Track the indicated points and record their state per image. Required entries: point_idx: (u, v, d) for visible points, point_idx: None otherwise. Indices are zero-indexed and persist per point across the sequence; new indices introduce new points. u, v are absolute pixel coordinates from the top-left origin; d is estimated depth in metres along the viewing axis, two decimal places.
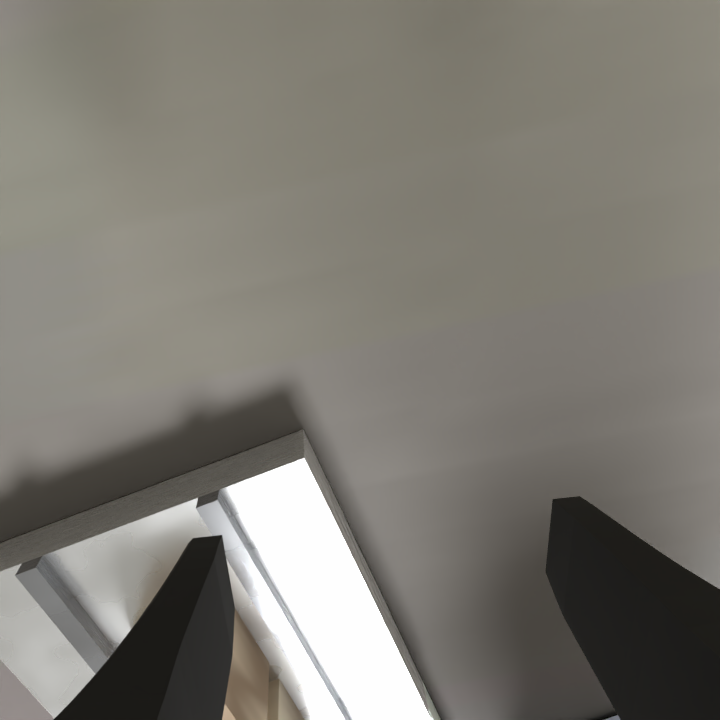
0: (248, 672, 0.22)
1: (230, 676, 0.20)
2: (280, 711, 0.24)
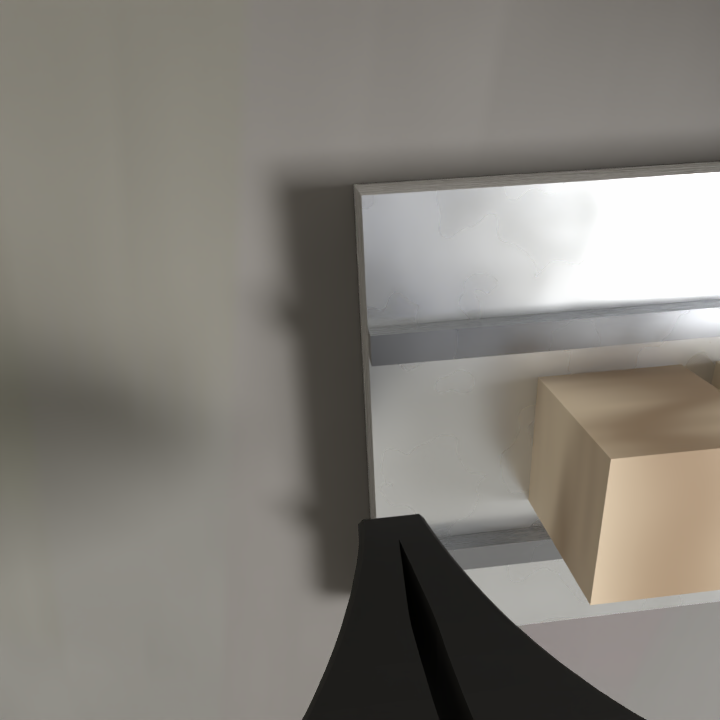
0: (653, 399, 0.14)
1: (625, 427, 0.13)
2: None
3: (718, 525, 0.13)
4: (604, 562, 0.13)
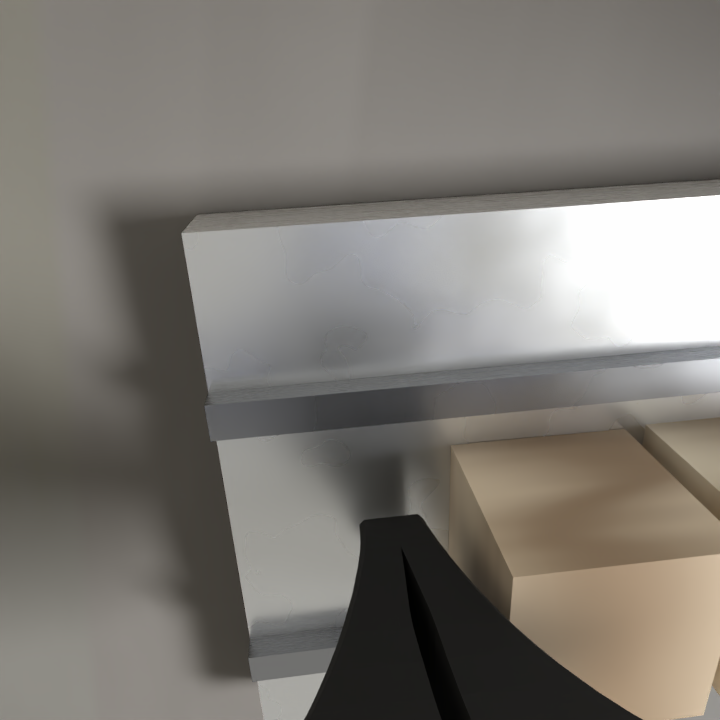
0: (583, 481, 0.12)
1: (540, 525, 0.11)
2: (692, 455, 0.12)
3: (657, 648, 0.10)
4: None
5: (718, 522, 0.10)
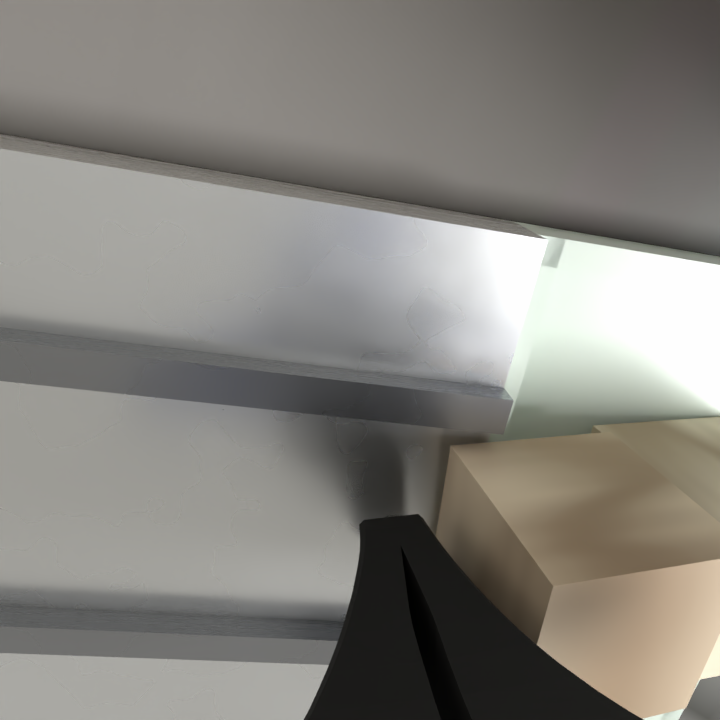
0: (588, 484, 0.12)
1: (563, 530, 0.10)
2: None
3: (662, 649, 0.11)
4: None
5: None
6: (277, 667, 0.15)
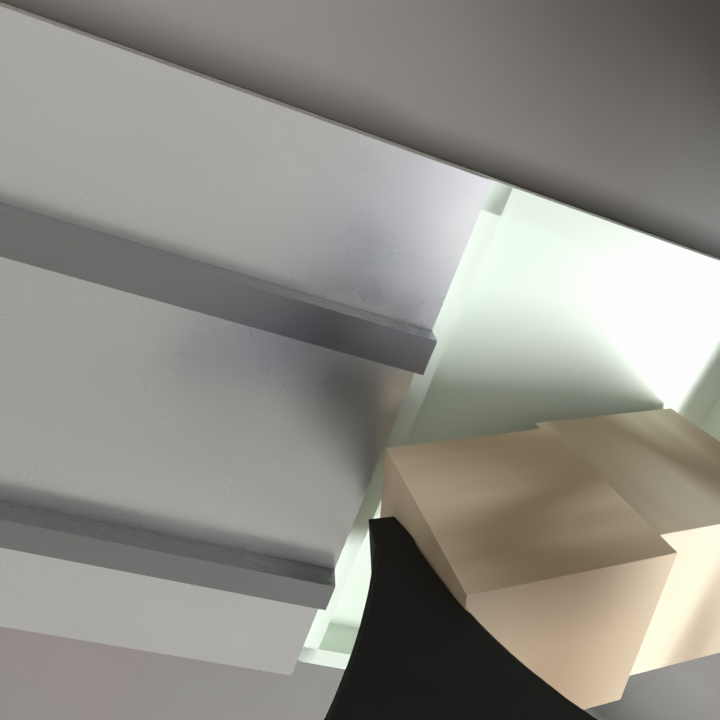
0: (520, 485, 0.12)
1: (486, 535, 0.10)
2: (699, 518, 0.11)
3: (589, 647, 0.11)
4: None
5: (647, 524, 0.11)
6: (171, 588, 0.15)
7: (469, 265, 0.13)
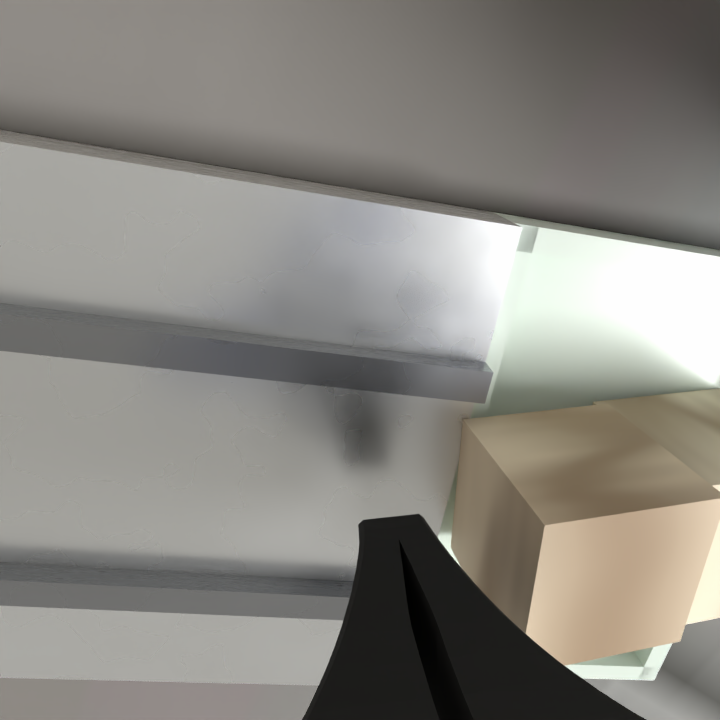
0: (583, 446, 0.14)
1: (557, 483, 0.12)
2: None
3: (650, 584, 0.12)
4: (534, 630, 0.12)
5: (698, 476, 0.12)
6: (281, 624, 0.17)
7: (509, 299, 0.14)
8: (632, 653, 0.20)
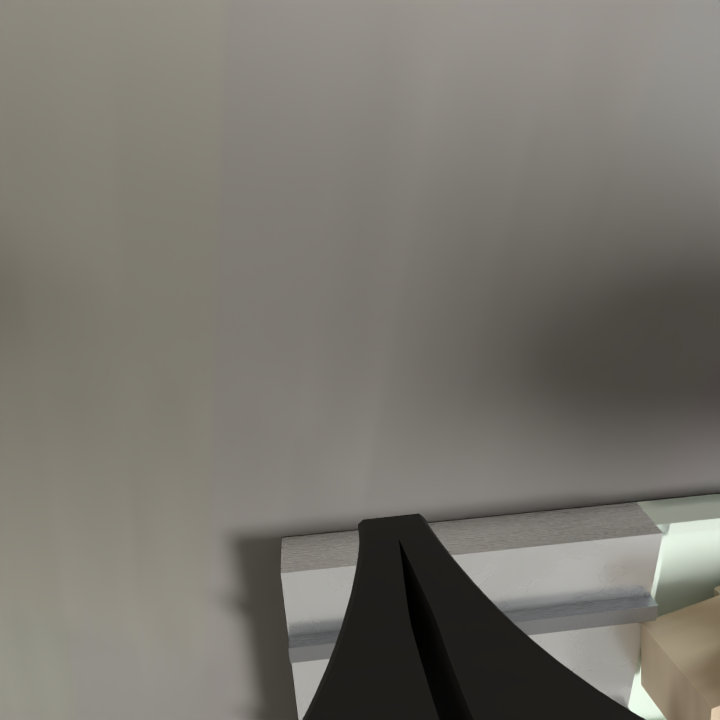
0: (718, 638, 0.24)
1: (710, 673, 0.23)
2: None
3: None
4: None
5: None
6: None
7: None
8: None
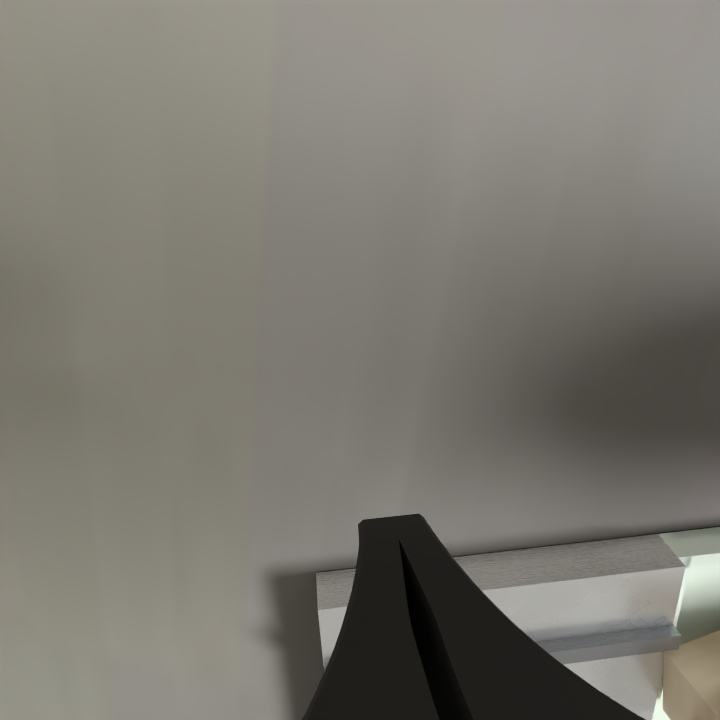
0: None
1: None
2: None
3: None
4: None
5: None
6: None
7: None
8: None
